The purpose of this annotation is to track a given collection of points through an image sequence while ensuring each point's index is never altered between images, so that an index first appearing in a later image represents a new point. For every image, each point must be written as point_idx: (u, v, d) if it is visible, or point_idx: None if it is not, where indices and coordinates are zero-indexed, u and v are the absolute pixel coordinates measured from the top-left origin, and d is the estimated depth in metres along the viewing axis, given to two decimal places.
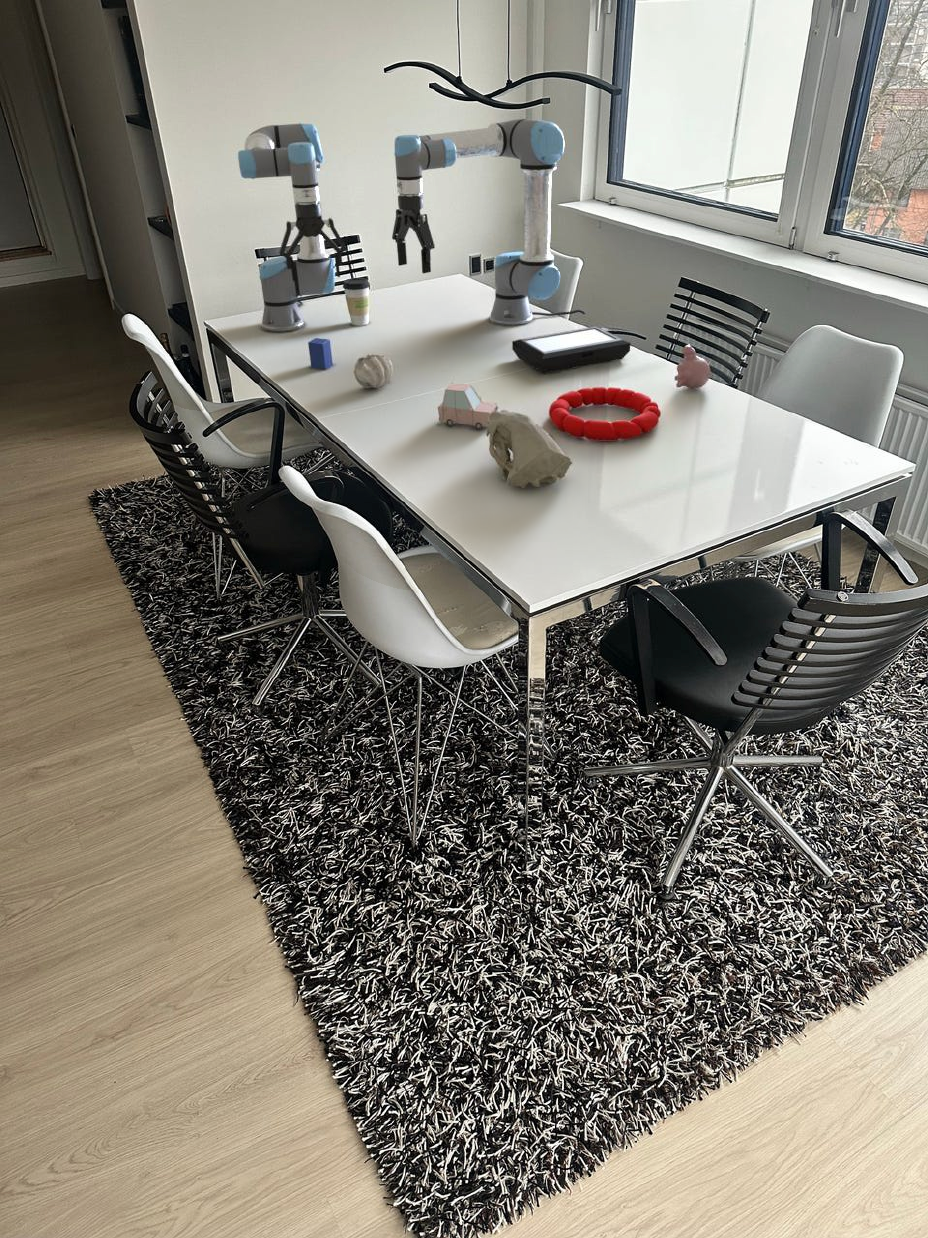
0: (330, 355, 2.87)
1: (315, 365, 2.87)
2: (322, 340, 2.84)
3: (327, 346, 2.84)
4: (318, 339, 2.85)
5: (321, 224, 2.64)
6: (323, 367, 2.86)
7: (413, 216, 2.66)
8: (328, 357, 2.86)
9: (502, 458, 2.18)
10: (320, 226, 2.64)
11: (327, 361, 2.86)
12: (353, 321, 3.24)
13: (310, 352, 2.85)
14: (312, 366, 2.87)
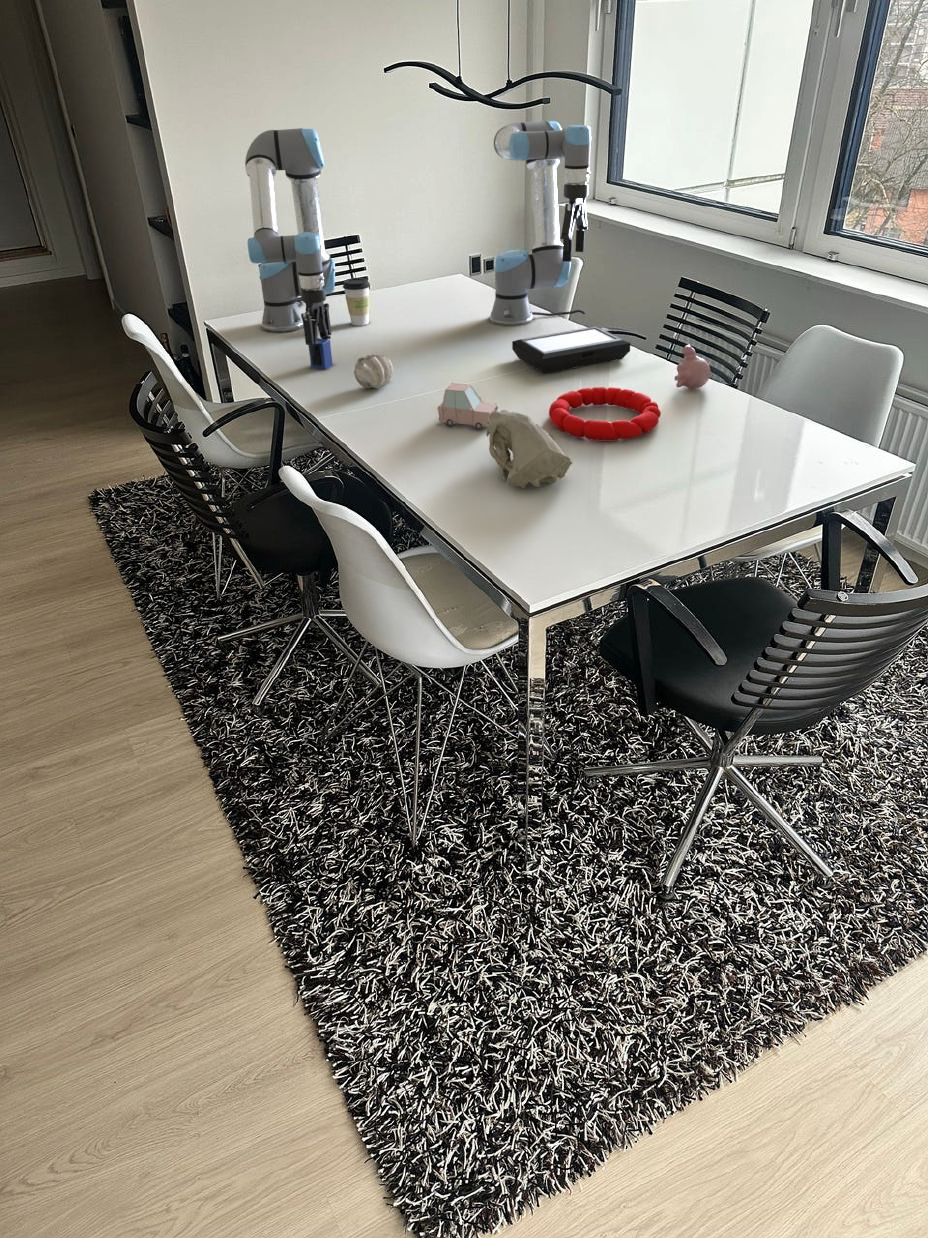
0: (330, 355, 2.87)
1: (315, 365, 2.87)
2: (322, 340, 2.84)
3: (327, 346, 2.84)
4: (318, 339, 2.85)
5: (323, 305, 2.80)
6: (323, 367, 2.86)
7: (581, 201, 2.77)
8: (328, 357, 2.86)
9: (502, 458, 2.18)
10: (323, 307, 2.80)
11: (327, 361, 2.86)
12: (353, 321, 3.24)
13: (310, 352, 2.85)
14: (312, 366, 2.87)
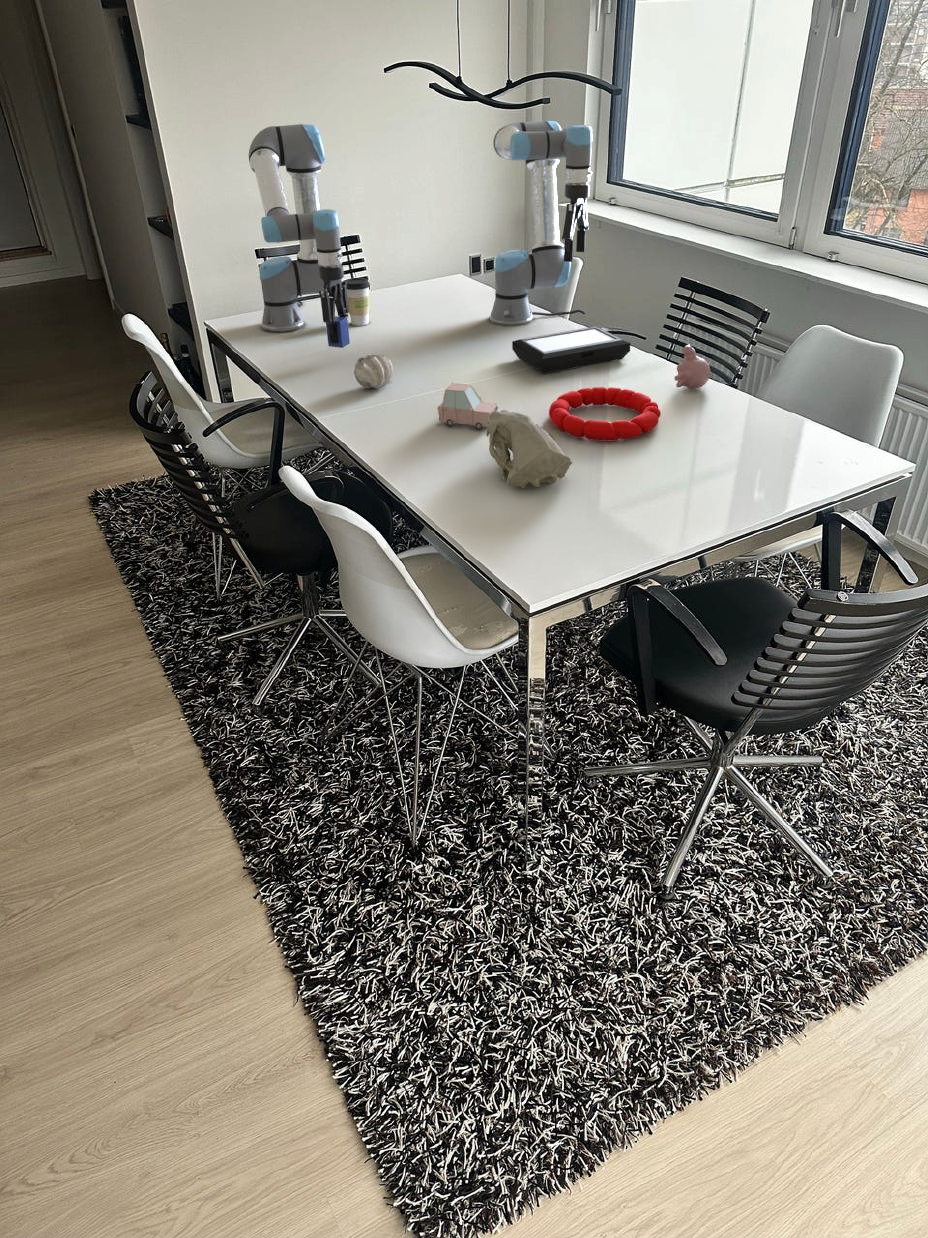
0: (347, 333, 2.87)
1: (333, 343, 2.87)
2: (339, 318, 2.85)
3: (344, 324, 2.85)
4: (335, 317, 2.86)
5: (341, 282, 2.81)
6: (340, 345, 2.86)
7: (582, 201, 2.77)
8: (345, 335, 2.87)
9: (502, 458, 2.18)
10: (340, 284, 2.81)
11: (344, 339, 2.86)
12: (353, 321, 3.24)
13: (327, 330, 2.85)
14: (329, 344, 2.88)
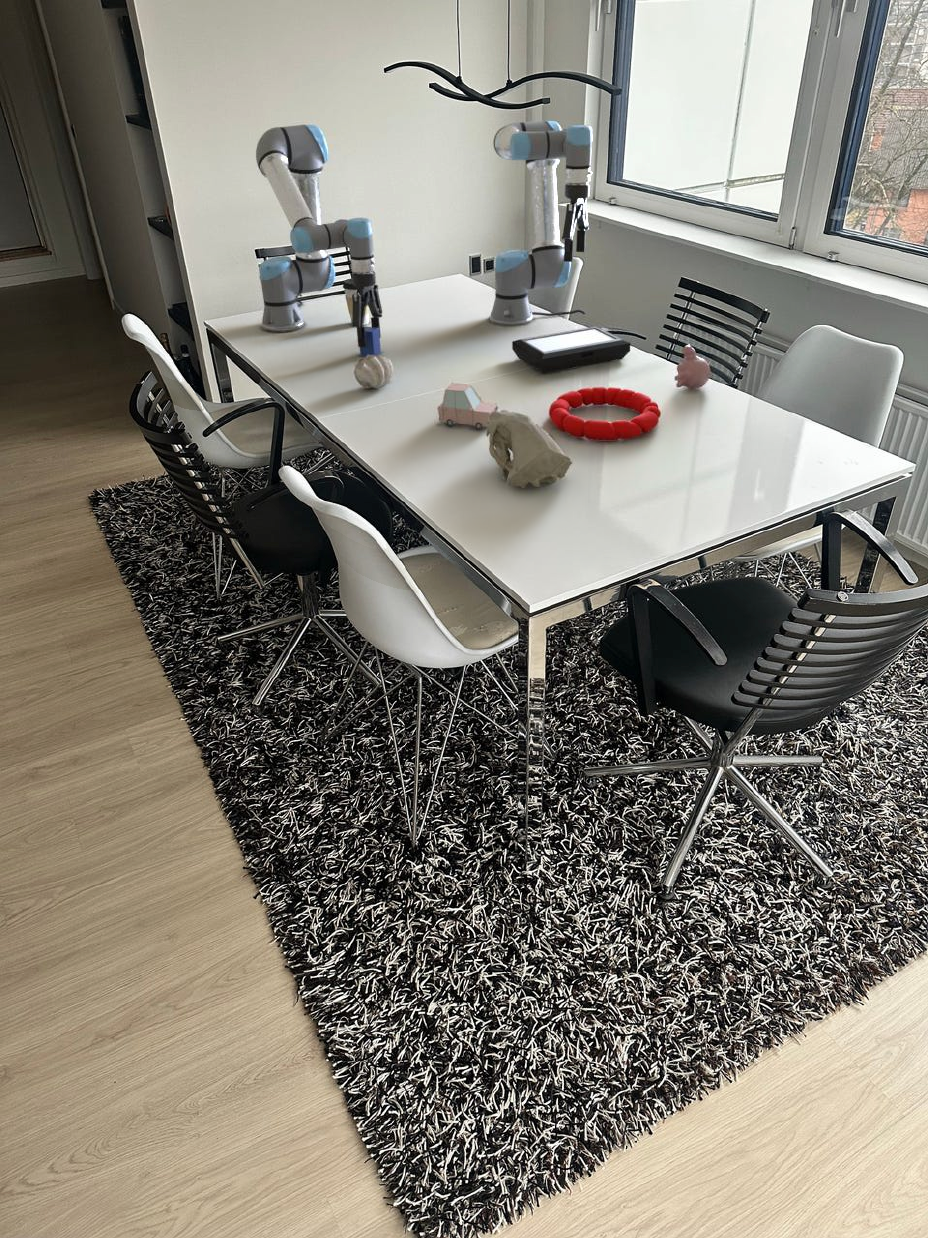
0: (379, 343, 2.96)
1: (364, 353, 2.96)
2: (371, 328, 2.93)
3: (376, 334, 2.93)
4: (367, 327, 2.94)
5: (372, 288, 2.88)
6: (372, 354, 2.95)
7: (582, 201, 2.77)
8: (377, 345, 2.95)
9: (502, 458, 2.18)
10: (372, 290, 2.88)
11: (376, 349, 2.95)
12: None
13: None
14: (361, 353, 2.96)
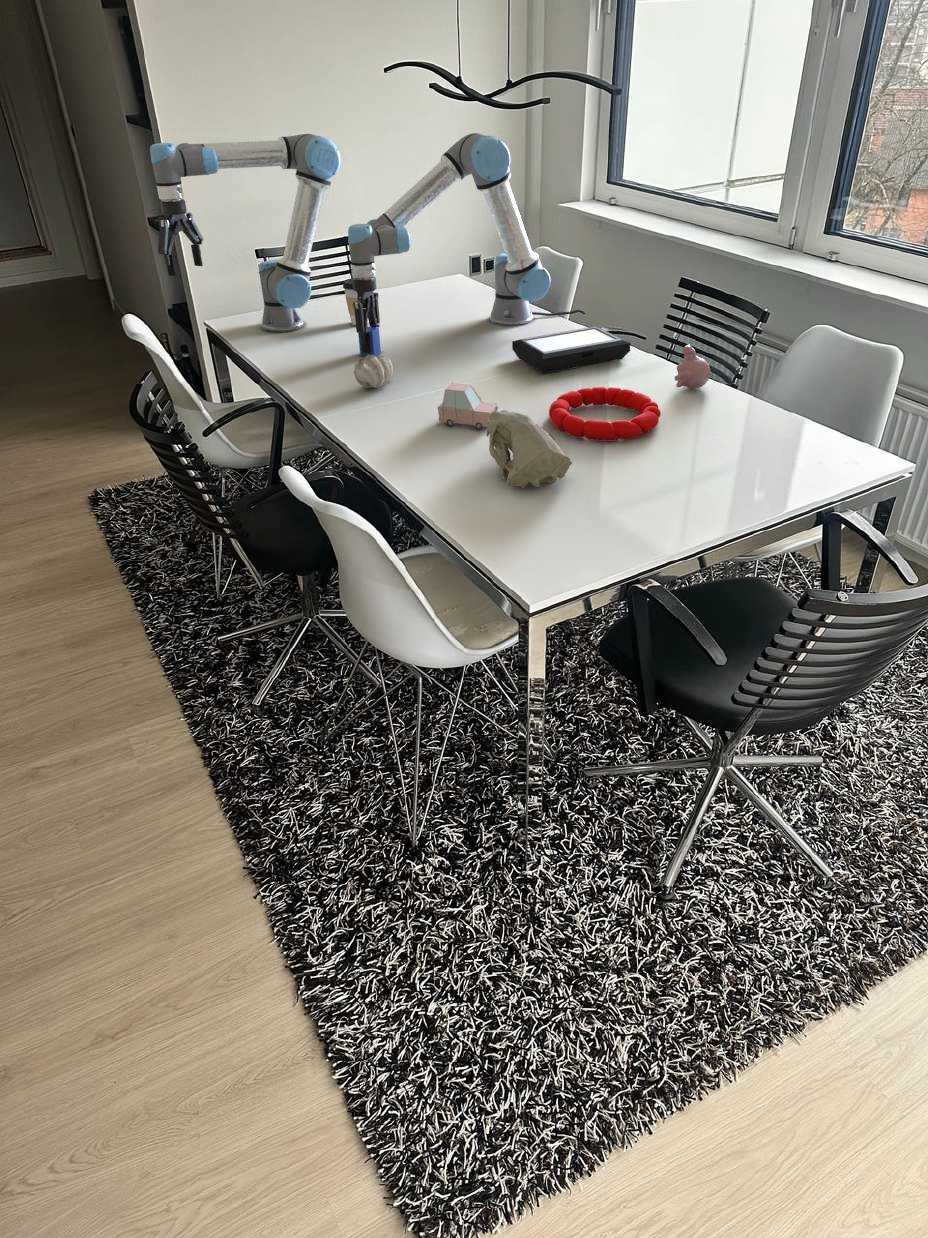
0: (379, 343, 2.96)
1: (364, 353, 2.96)
2: (371, 328, 2.93)
3: (376, 334, 2.93)
4: None
5: (185, 218, 2.83)
6: (372, 354, 2.95)
7: (372, 293, 2.89)
8: (377, 345, 2.95)
9: (502, 458, 2.18)
10: (185, 220, 2.83)
11: (376, 349, 2.95)
12: (353, 321, 3.24)
13: (359, 340, 2.94)
14: (361, 353, 2.96)
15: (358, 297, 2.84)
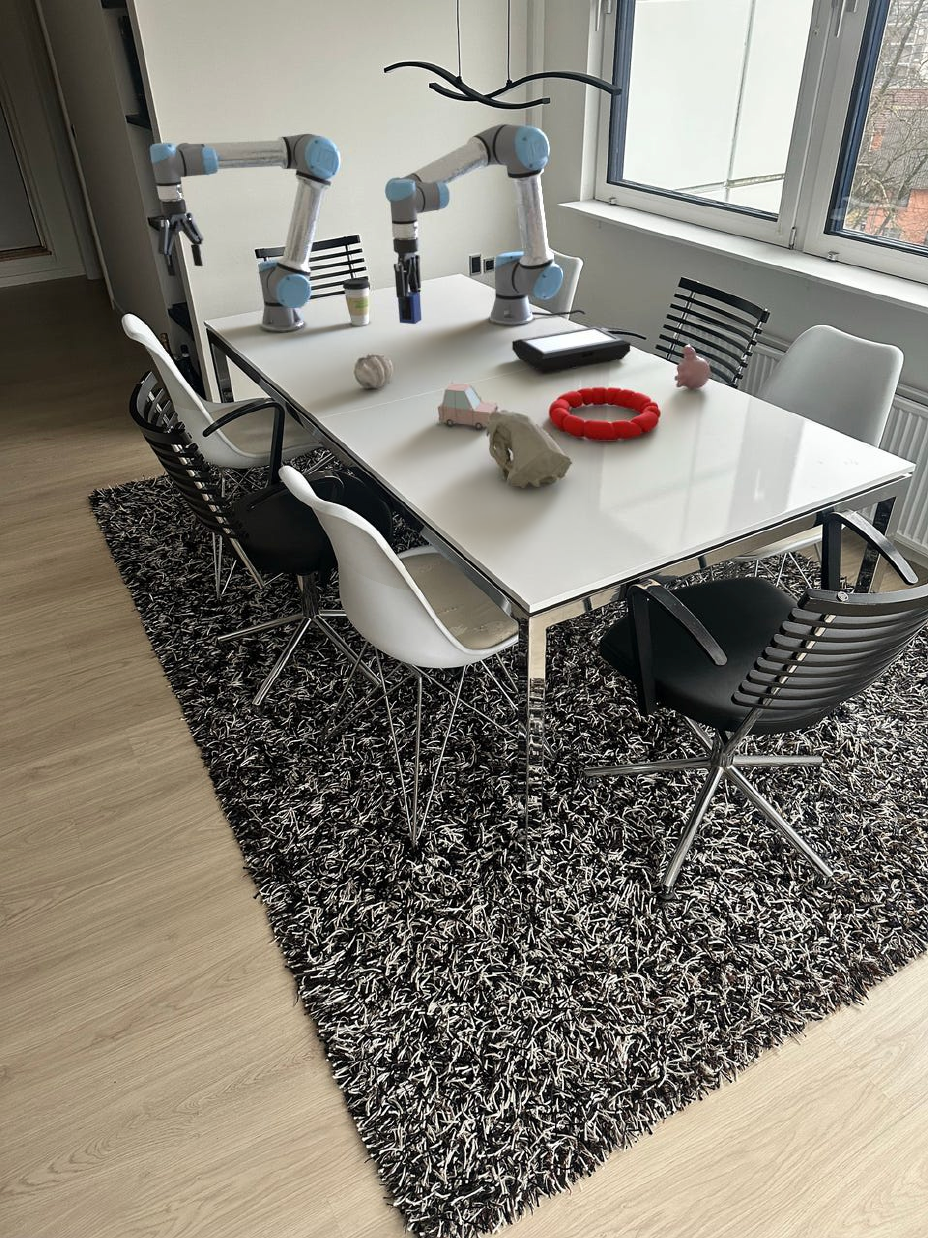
0: (419, 309, 2.78)
1: (404, 320, 2.78)
2: (412, 293, 2.75)
3: (417, 299, 2.75)
4: None
5: (185, 218, 2.83)
6: (412, 321, 2.77)
7: (414, 255, 2.71)
8: (417, 311, 2.77)
9: (502, 458, 2.18)
10: (185, 220, 2.83)
11: (416, 315, 2.77)
12: (353, 321, 3.24)
13: (399, 306, 2.76)
14: (401, 320, 2.78)
15: (399, 259, 2.66)
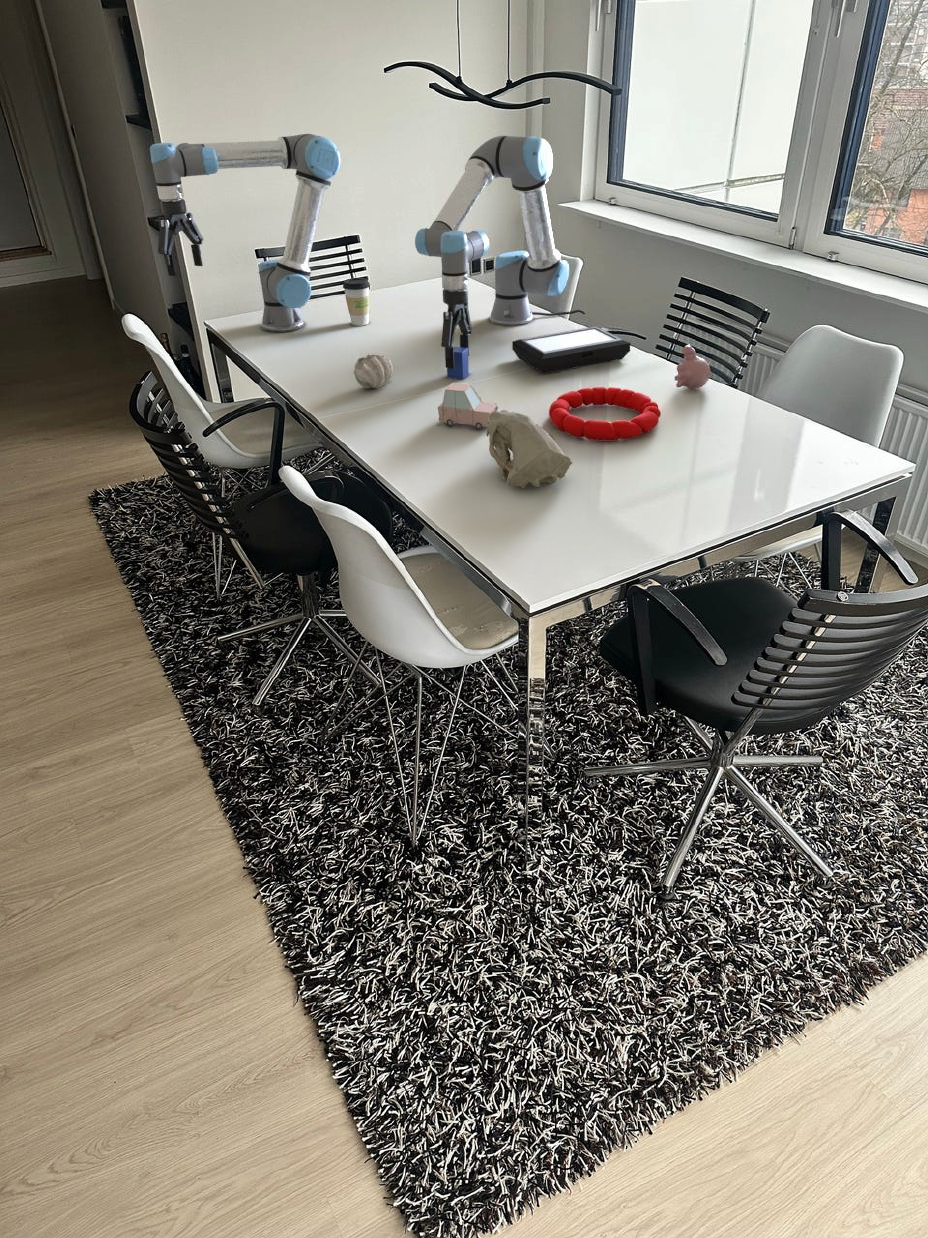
0: (467, 364, 2.76)
1: (452, 375, 2.76)
2: (460, 349, 2.73)
3: (465, 355, 2.73)
4: (456, 347, 2.74)
5: (185, 218, 2.83)
6: (460, 377, 2.75)
7: (462, 305, 2.68)
8: (466, 366, 2.75)
9: (502, 458, 2.18)
10: (185, 220, 2.83)
11: (464, 370, 2.75)
12: (353, 321, 3.24)
13: None
14: (448, 375, 2.76)
15: (449, 310, 2.63)
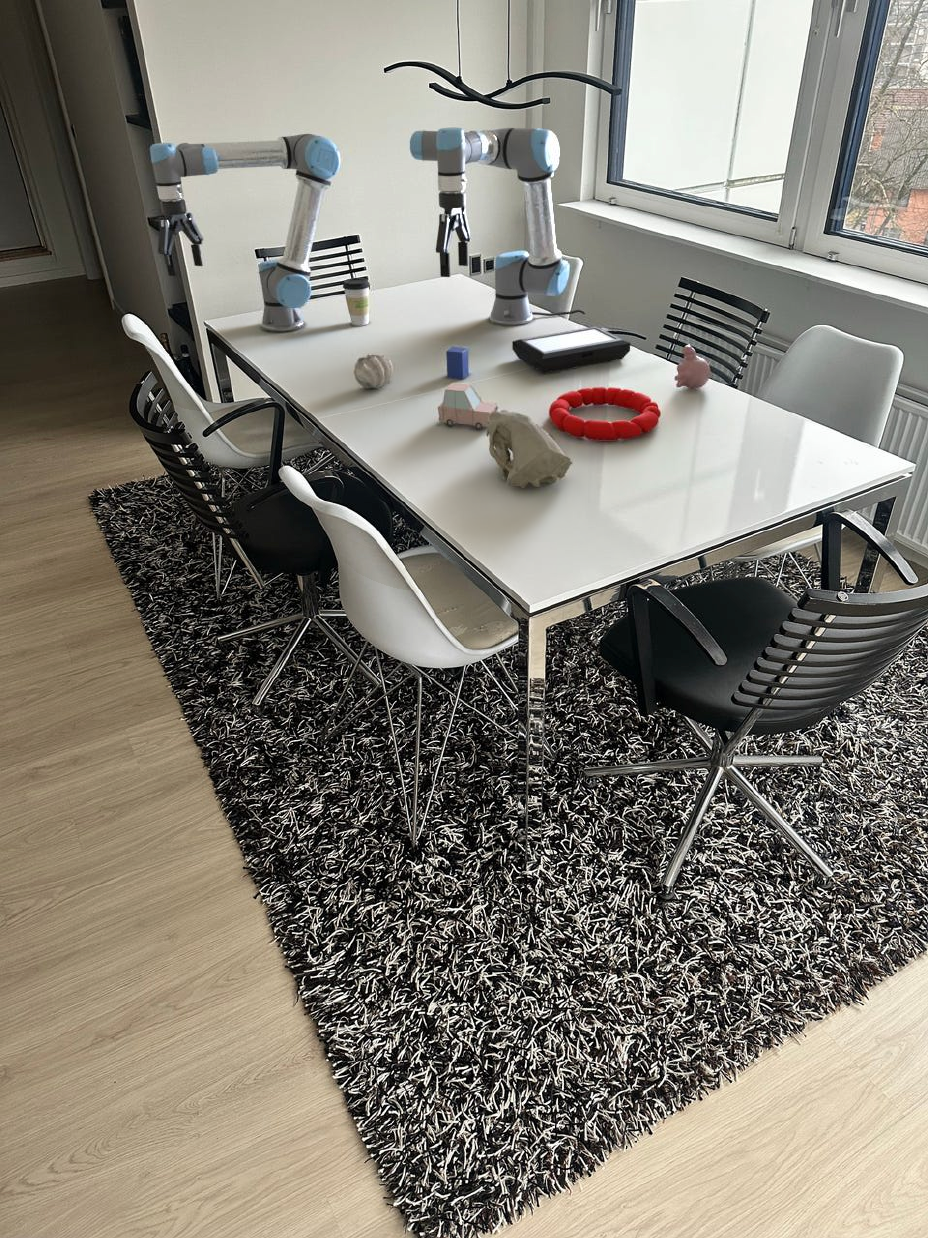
0: (467, 364, 2.76)
1: (452, 375, 2.76)
2: (460, 349, 2.73)
3: (465, 355, 2.73)
4: (456, 347, 2.74)
5: (185, 218, 2.83)
6: (460, 377, 2.75)
7: (460, 211, 2.53)
8: (466, 366, 2.75)
9: (502, 458, 2.18)
10: (185, 220, 2.83)
11: (464, 370, 2.75)
12: (353, 321, 3.24)
13: (447, 361, 2.74)
14: (448, 375, 2.76)
15: None
